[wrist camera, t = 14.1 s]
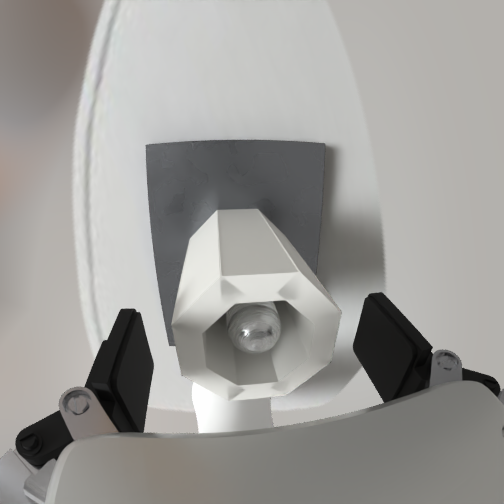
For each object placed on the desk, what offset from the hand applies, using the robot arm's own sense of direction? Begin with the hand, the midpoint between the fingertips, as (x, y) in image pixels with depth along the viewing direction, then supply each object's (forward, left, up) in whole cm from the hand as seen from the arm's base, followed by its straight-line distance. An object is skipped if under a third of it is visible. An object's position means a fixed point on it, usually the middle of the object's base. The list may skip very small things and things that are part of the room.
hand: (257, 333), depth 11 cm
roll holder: (+1, 0, -11) cm, 11 cm away
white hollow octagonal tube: (0, 0, -10) cm, 10 cm away
